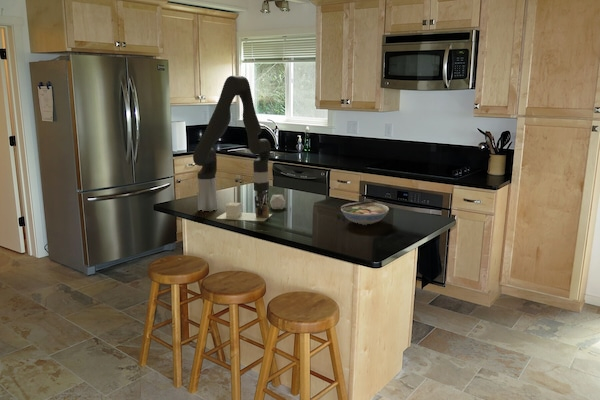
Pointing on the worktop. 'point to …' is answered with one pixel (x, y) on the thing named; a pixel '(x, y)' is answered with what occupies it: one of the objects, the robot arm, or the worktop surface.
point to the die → (277, 202)
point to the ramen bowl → (364, 212)
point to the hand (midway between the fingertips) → (262, 213)
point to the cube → (233, 209)
